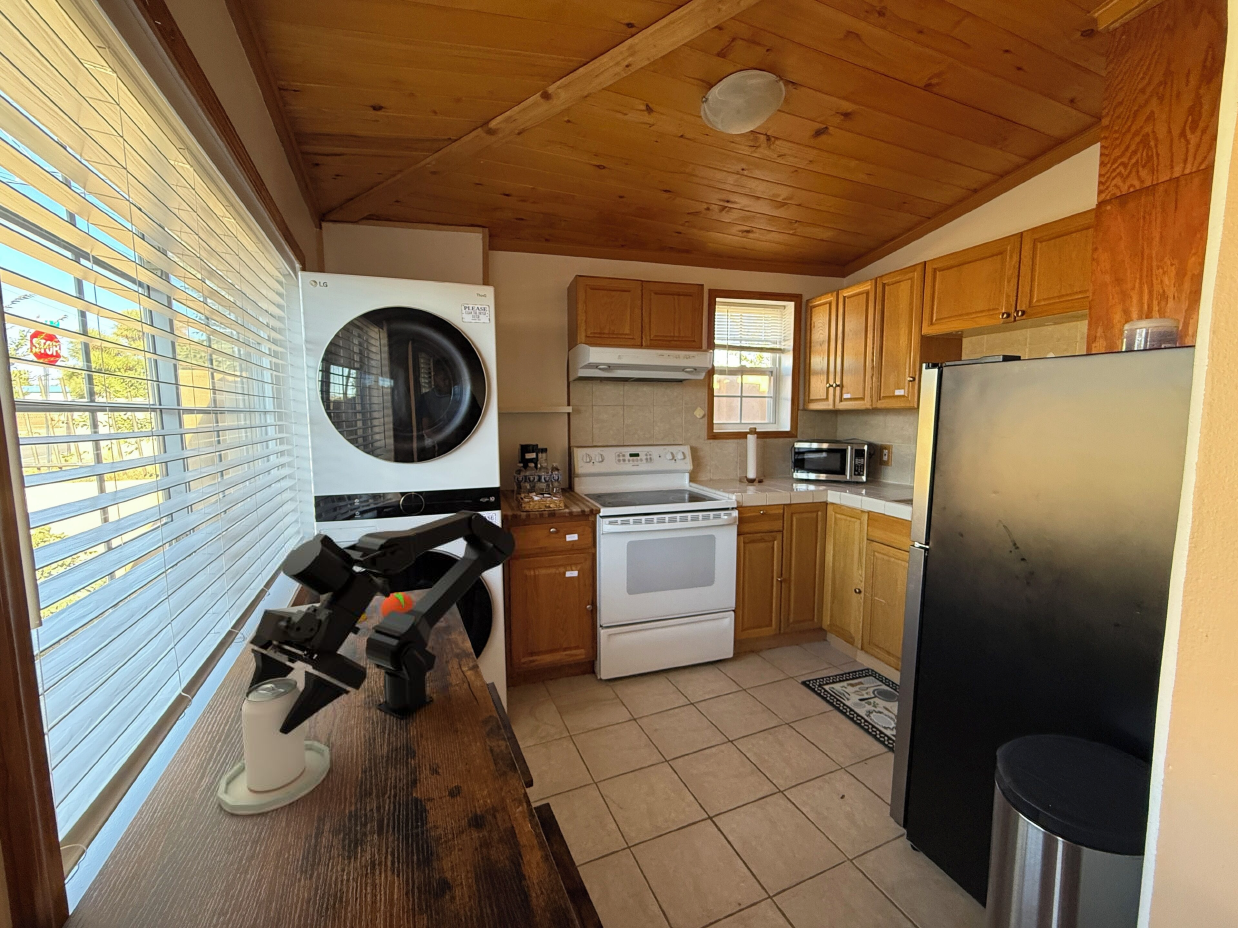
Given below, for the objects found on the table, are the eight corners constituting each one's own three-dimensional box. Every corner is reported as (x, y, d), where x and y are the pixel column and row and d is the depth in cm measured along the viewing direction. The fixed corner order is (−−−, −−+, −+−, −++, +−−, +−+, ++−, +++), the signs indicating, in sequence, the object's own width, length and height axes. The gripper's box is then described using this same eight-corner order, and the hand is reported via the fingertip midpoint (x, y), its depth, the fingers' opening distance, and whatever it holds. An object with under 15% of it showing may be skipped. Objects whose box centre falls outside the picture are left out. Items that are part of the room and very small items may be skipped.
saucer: (348, 766, 69) (348, 757, 69) (250, 829, 59) (250, 818, 59) (298, 739, 75) (297, 731, 75) (200, 792, 64) (200, 782, 64)
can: (285, 754, 71) (280, 671, 70) (316, 767, 68) (312, 682, 67) (234, 784, 65) (228, 695, 64) (267, 800, 62) (261, 707, 61)
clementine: (420, 624, 117) (419, 594, 117) (388, 632, 113) (387, 601, 112) (408, 613, 123) (407, 585, 123) (377, 621, 119) (376, 591, 118)
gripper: (260, 572, 72) (170, 681, 64) (341, 595, 64) (248, 725, 55) (318, 608, 80) (244, 709, 71) (397, 632, 71) (323, 751, 63)
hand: (262, 722), depth 65 cm, fingers open, 9 cm apart
